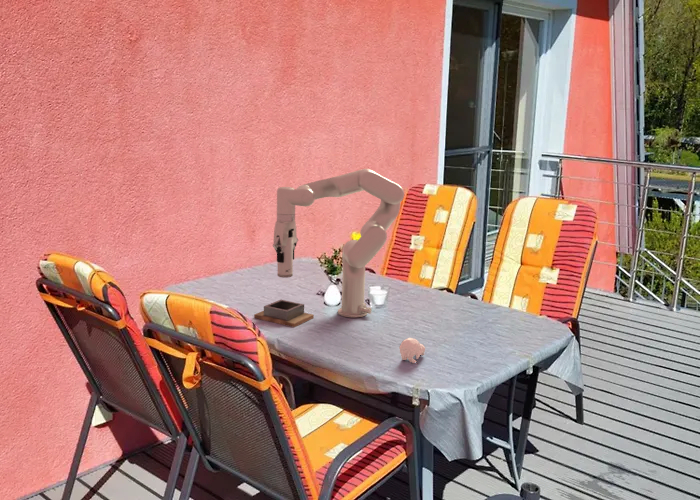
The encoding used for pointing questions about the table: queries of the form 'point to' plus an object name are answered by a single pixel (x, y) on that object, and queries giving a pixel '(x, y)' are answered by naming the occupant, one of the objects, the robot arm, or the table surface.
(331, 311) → the table surface
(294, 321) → the walnut stand
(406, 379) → the table surface
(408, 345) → the pink animal figurine
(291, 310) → the gray square tray
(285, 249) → the travel mug
